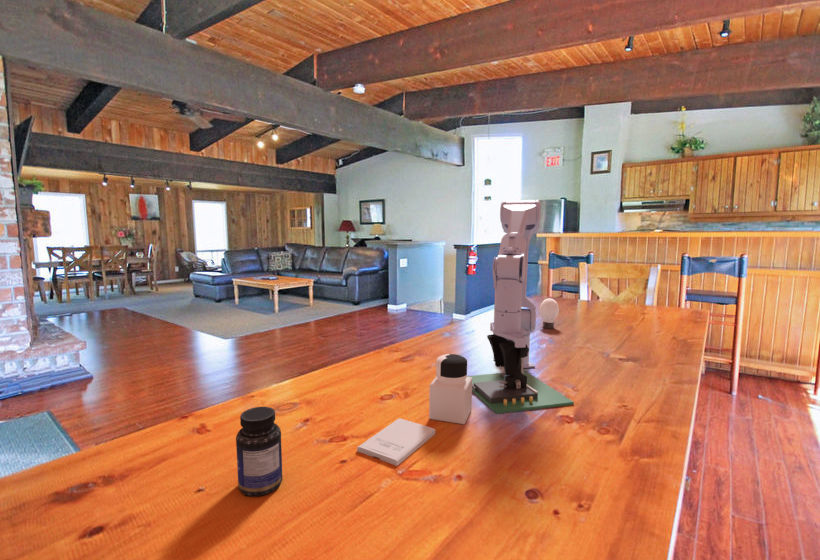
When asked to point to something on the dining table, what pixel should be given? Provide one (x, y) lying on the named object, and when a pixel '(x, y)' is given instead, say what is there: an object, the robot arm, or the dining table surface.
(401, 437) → the external hard drive
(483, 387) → the pad
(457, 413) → the medicine bottle
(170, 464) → the dining table surface
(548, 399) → the circuit board
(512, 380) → the push button
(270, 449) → the pill bottle
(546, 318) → the light bulb
